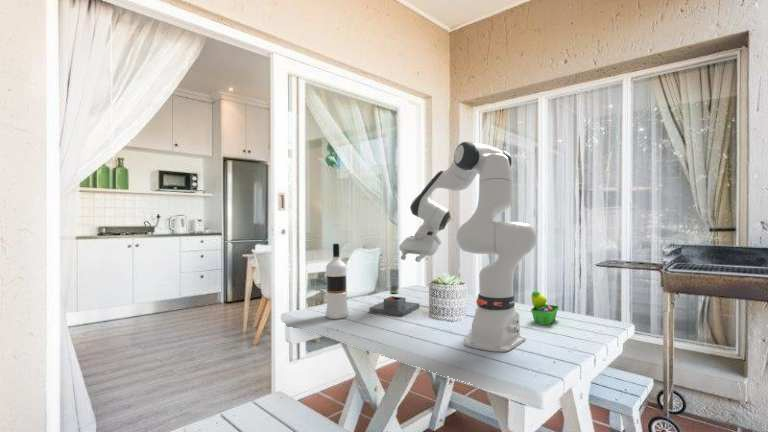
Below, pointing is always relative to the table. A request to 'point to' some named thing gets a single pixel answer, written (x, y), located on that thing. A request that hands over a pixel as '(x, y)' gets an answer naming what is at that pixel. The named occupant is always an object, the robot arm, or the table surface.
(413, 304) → the stand base
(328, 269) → the vodka
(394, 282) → the column
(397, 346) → the table surface
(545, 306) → the fruit basket
